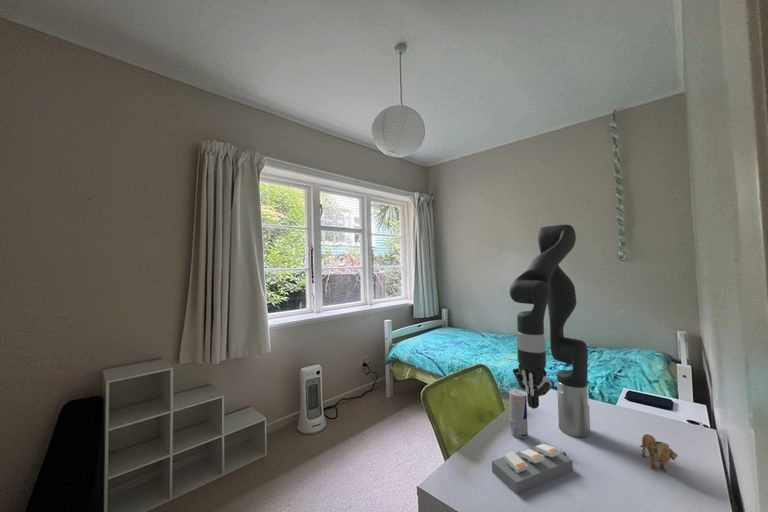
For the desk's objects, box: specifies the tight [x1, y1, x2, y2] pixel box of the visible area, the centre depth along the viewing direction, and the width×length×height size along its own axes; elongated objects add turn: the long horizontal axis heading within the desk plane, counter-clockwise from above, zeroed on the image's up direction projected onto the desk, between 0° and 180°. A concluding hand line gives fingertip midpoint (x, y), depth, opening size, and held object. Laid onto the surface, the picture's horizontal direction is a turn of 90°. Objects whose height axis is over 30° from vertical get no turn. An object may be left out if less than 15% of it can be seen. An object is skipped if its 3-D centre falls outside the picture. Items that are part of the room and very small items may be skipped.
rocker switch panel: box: [491, 442, 574, 495], centre depth 85 cm, size 25×9×3 cm, turn 112°
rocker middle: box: [520, 448, 544, 463], centre depth 84 cm, size 4×5×2 cm
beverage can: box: [508, 388, 529, 439], centre depth 102 cm, size 6×6×15 cm
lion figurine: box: [639, 433, 678, 472], centre depth 87 cm, size 15×5×9 cm, turn 163°
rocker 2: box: [535, 443, 561, 457], centre depth 87 cm, size 4×5×2 cm
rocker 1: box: [503, 450, 528, 473], centre depth 82 cm, size 4×5×2 cm
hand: (533, 407), depth 84 cm, fingers closed
